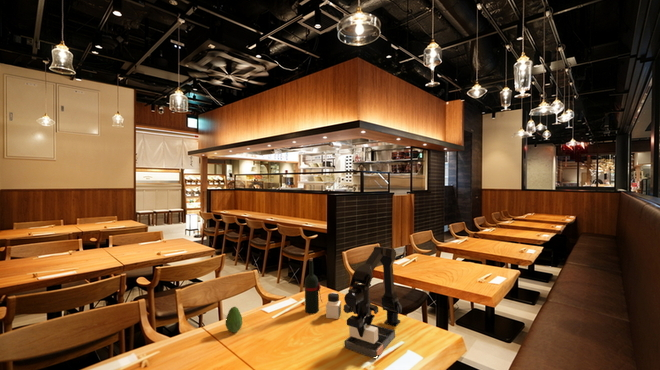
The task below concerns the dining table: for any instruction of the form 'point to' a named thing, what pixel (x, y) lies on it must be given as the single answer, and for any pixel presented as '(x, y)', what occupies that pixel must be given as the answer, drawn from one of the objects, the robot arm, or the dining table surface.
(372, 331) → the blanking panel
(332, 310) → the medicine bottle
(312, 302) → the wine bottle
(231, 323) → the avocado
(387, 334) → the divided tray
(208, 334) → the dining table surface
